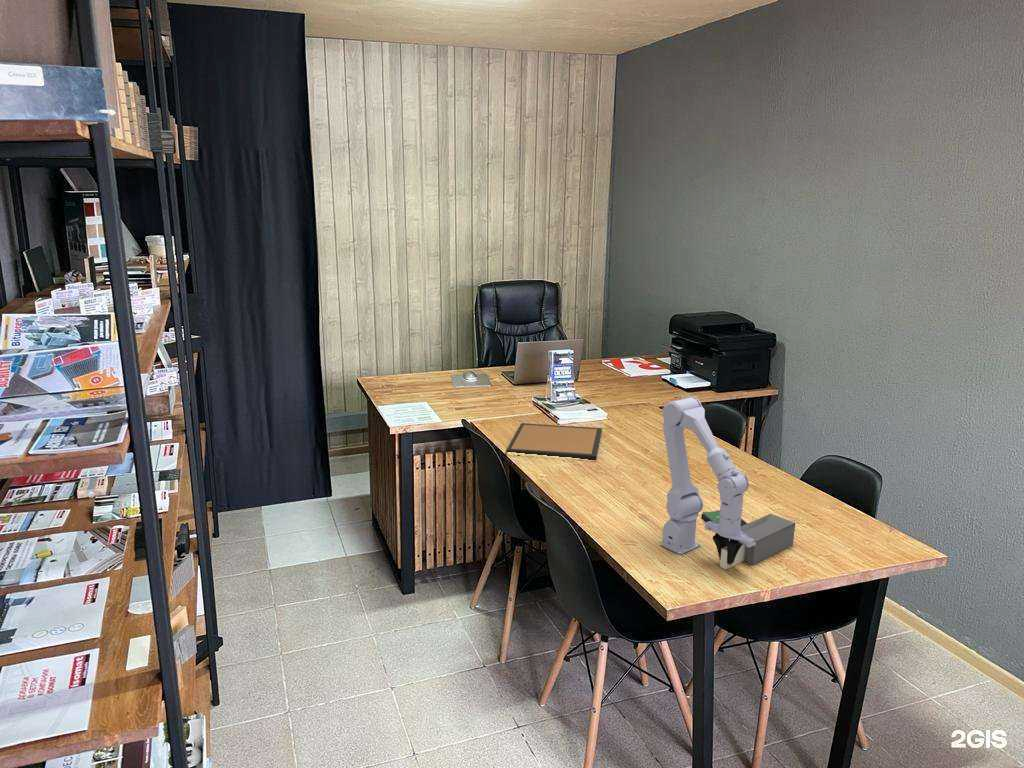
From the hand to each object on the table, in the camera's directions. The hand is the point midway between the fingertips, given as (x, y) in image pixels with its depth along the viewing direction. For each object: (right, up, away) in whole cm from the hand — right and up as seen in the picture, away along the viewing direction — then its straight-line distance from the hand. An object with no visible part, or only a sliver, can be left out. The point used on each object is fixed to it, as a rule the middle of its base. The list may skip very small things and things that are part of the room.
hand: (726, 561), depth 208 cm
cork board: (-41, +24, +101) cm, 112 cm away
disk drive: (+7, +4, +26) cm, 27 cm away
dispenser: (+13, +1, +10) cm, 16 cm away
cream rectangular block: (+5, -1, +4) cm, 7 cm away
